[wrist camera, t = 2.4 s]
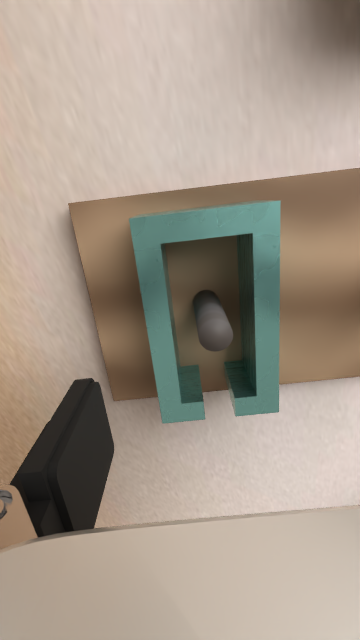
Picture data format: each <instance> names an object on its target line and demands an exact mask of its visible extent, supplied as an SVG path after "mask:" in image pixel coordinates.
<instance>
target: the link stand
mask: <svg viewBox="0 0 360 640" xmlns="http://www.w3.org/2000/svg"><path fill="white" fill-rule="evenodd" d="M256 200H270V201H281V204H280V329H279V384H289V383H299V382H309V381H319V380H329V379H338V378H348V377H358V376H360V168H354V169H346V170H338V171H330V172H322V173H313V174H305V175H297V176H289V177H281V178H272V179H264V180H256V181H248V182H240V183H231V184H223V185H215V186H207V187H199V188H190V189H182V190H174V191H166V192H158V193H149V194H141V195H133V196H125V197H117V198H108V199H100V200H92V201H84V202H76V203H68V205H69V209H70V214H71V218H72V222H73V227H74V231H75V235H76V240H77V244H78V248H79V253H80V257H81V261H82V266H83V270H84V274H85V279H86V283H87V287H88V292H89V296H90V300H91V305H92V309H93V313H94V318H95V322H96V326H97V331H98V335H99V339H100V344H101V348H102V352H103V357H104V361H105V365H106V370H107V374H108V378H109V383H110V387H111V391H112V396H113V400H114V401H120V400H130V399H140V398H150V397H158V392H157V386H156V380H155V374H154V368H153V362H152V356H151V350H150V344H149V338H148V332H147V326H146V320H145V314H144V308H143V302H142V296H141V290H140V284H139V278H138V272H137V266H136V260H135V253H134V247H133V241H132V235H131V229H130V223H129V218H132V217H134V216H137V215H140V214H148V213H156V212H165V211H173V210H181V209H190V208H198V207H206V206H215V205H223V204H231V203H240V202H248V201H256ZM165 248H166V256H167V264H168V272H169V279H170V287H171V295H172V303H173V311H174V319H175V326H176V334H177V342H178V350H179V358H180V366H191V365H199V372H200V380H201V387H202V392H209V391H219V390H228V387H227V383H226V379H225V370H224V362H229V361H239V360H242V348H241V325H240V301H239V278H238V255H237V235H232V236H223V237H215V238H206V239H197V240H189V241H180V242H172V243H165Z"/></svg>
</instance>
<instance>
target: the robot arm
mask: <svg viewBox="0 0 360 640" xmlns="http://www.w3.org/2000/svg"><path fill="white" fill-rule="evenodd" d="M113 454H114V443H113V439H112V434H111V430H110V426H109V422H108V417H107V413H106V409H105V405H104V400H103V396H102V392H101V388H100V384H99V382H94V380H93V379H92V378H89V379H79V380H75V381H74V382H73V384H72V385H71V387H70V389H69V390H68V392H67V393H66V395H65V397H64V398H63V400H62V402H61V403H60V405H59V407H58V408H57V410H56V412H55V413H54V415H53V416H52V418H51V420H50V421H49V422H48V423H47V424H46V426H45V427H44V429H43V431H42V432H41V434H40V436H39V437H38V439H37V440H36V442H35V444H34V445H33V447H32V449H31V450H30V452H29V453H28V455H27V457H26V458H25V460H24V462H23V463H22V465H21V466H20V468H19V470H18V471H17V473H16V475H15V476H14V478H13V479H12V481H11V483H10V484H9V485H0V640H360V505H354V506H342V507H330V508H317V509H305V510H293V511H281V512H269V513H257V514H245V515H233V516H222V517H210V518H199V519H188V520H176V521H165V522H154V523H143V524H133V525H123V526H113V527H103V528H95V529H94V525H95V522H96V518H97V514H98V511H99V507H100V503H101V499H102V496H103V492H104V488H105V484H106V481H107V477H108V473H109V469H110V466H111V462H112V458H113Z"/></svg>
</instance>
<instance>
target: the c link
mask: <svg viewBox="0 0 360 640" xmlns="http://www.w3.org/2000/svg"><path fill="white" fill-rule="evenodd" d="M280 204H281V201H270V200H256V201H248V202H240V203H231V204H223V205H215V206H206V207H198V208H190V209H181V210H173V211H165V212H156V213H148V214H140V215H137V216H134V217H132V218H129V223H130V229H131V235H132V241H133V247H134V253H135V260H136V266H137V272H138V278H139V284H140V290H141V296H142V302H143V308H144V314H145V320H146V326H147V332H148V338H149V344H150V350H151V356H152V362H153V368H154V374H155V380H156V386H157V392H158V398H159V404H160V411H161V417H162V423H173V422H183V421H193V420H203V419H205V412H204V402H203V395H202V387H201V380H200V372H199V365H191V366H180V358H179V350H178V342H177V334H176V326H175V319H174V311H173V303H172V295H171V287H170V279H169V272H168V264H167V256H166V248H165V243H172V242H180V241H189V240H197V239H206V238H215V237H223V236H232V235H237V255H238V278H239V301H240V325H241V348H242V360H239V361H229V362H224V370H225V379H226V383H227V387H228V390H229V394H230V398H231V401H232V405H233V409H234V412H235V416H244V415H254V414H265V413H275V412H279V329H280Z"/></svg>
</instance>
